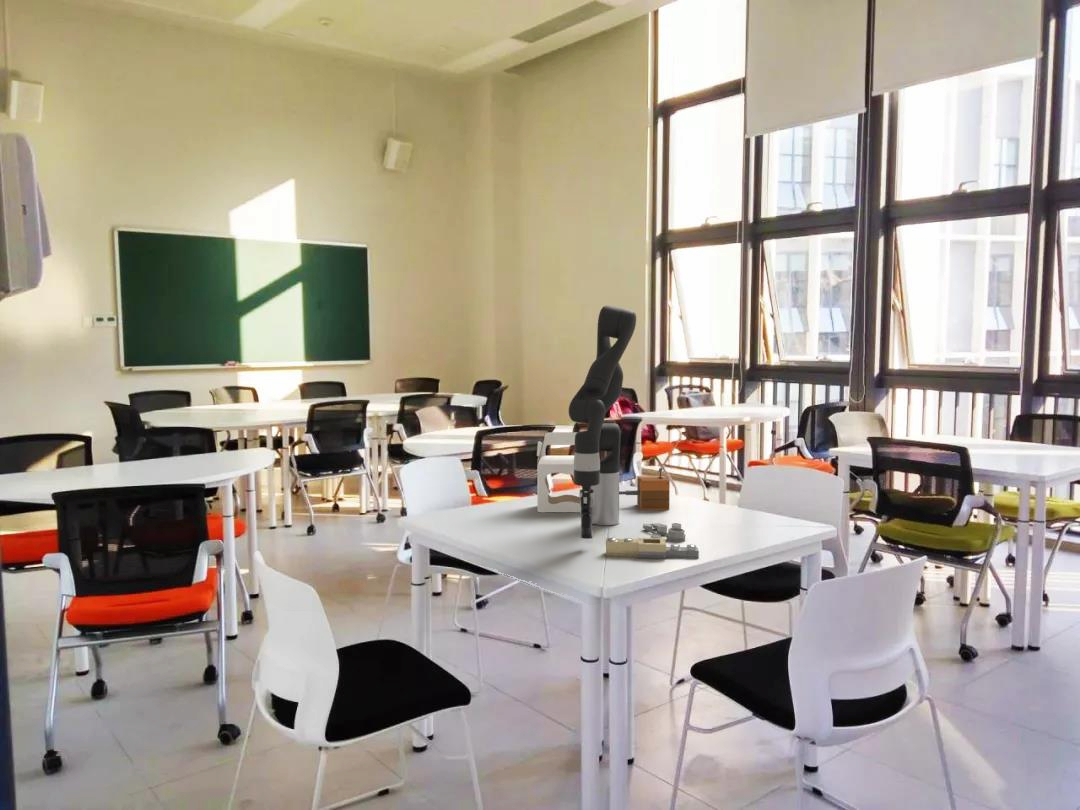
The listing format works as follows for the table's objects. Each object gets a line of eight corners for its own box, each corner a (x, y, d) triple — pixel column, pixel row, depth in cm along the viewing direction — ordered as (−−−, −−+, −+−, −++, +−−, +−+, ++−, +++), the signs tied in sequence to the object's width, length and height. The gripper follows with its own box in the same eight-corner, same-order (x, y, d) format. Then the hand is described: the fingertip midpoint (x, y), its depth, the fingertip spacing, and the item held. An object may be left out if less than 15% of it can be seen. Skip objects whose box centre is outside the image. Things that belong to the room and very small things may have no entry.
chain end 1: (606, 550, 232) (606, 535, 231) (664, 552, 230) (664, 536, 230) (605, 557, 224) (605, 541, 224) (666, 559, 222) (666, 543, 222)
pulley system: (691, 533, 257) (644, 527, 262) (692, 519, 257) (645, 513, 261) (678, 558, 231) (626, 551, 236) (679, 542, 231) (627, 535, 235)
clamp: (610, 504, 300) (610, 466, 299) (664, 504, 301) (664, 466, 300) (614, 510, 290) (614, 471, 289) (669, 510, 290) (669, 470, 289)
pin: (580, 535, 236) (580, 490, 235) (593, 535, 235) (594, 491, 234) (579, 539, 232) (579, 493, 231) (592, 539, 231) (593, 494, 230)
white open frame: (597, 505, 298) (597, 430, 296) (599, 513, 285) (599, 434, 283) (537, 505, 299) (536, 430, 297) (536, 513, 285) (536, 434, 283)
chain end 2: (637, 551, 231) (637, 541, 230) (696, 552, 229) (696, 542, 229) (638, 558, 223) (638, 547, 223) (699, 559, 221) (699, 549, 221)
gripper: (598, 472, 224) (598, 533, 226) (600, 464, 238) (600, 521, 240) (571, 471, 225) (571, 532, 227) (575, 463, 239) (575, 520, 241)
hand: (586, 526), depth 233 cm, fingers closed on pin, 3 cm apart
